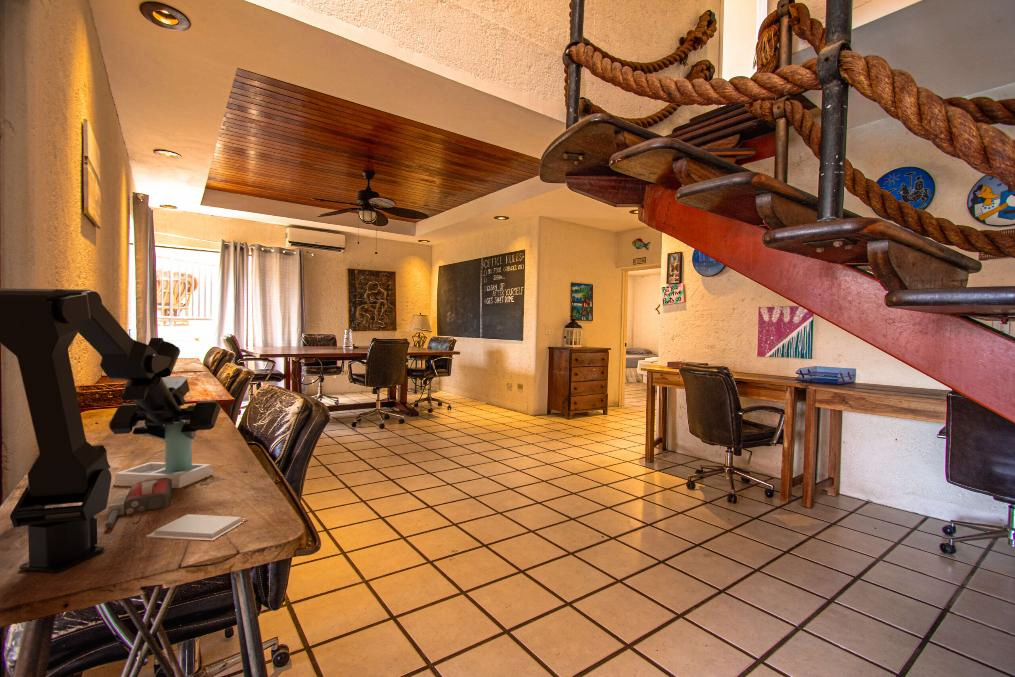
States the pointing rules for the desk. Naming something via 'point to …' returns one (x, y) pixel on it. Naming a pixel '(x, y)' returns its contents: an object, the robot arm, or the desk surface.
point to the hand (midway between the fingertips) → (181, 438)
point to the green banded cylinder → (177, 448)
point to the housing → (162, 474)
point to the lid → (197, 527)
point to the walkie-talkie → (141, 498)
